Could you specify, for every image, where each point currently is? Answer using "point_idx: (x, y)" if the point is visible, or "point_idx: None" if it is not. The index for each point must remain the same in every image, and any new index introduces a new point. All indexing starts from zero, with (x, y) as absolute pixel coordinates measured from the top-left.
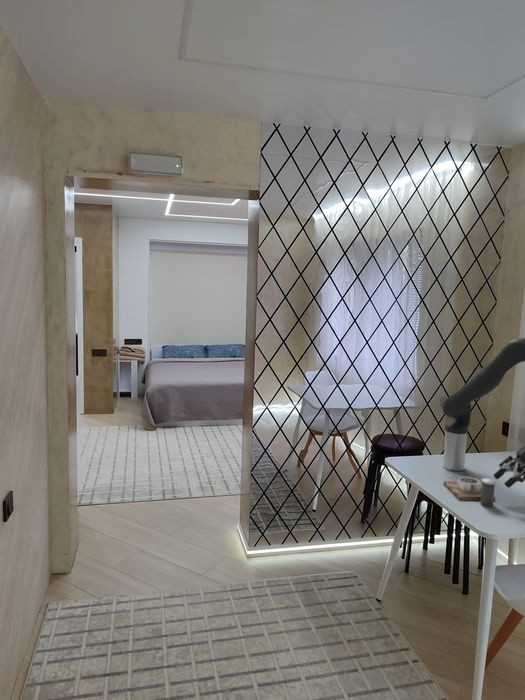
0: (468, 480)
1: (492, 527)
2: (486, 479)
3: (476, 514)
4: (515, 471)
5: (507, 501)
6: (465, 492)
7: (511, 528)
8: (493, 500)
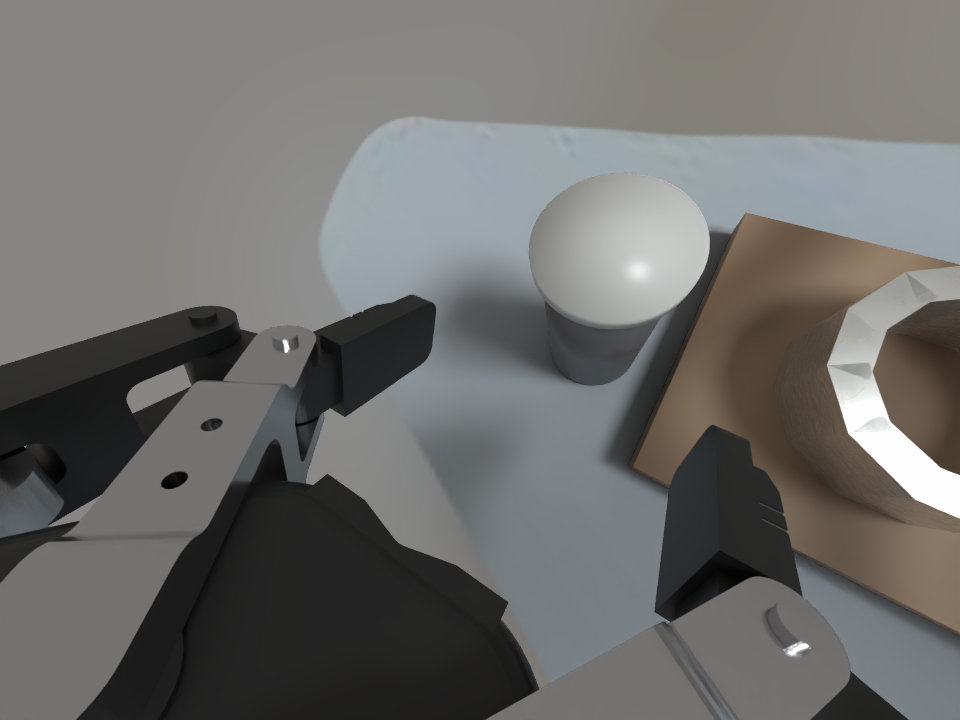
0: None
1: (393, 174)
2: (659, 249)
3: (521, 198)
4: (224, 379)
5: (586, 566)
6: (813, 312)
7: (344, 241)
8: (555, 352)
